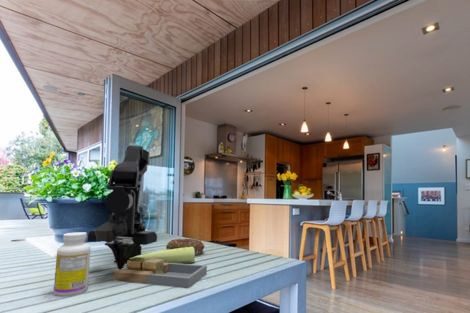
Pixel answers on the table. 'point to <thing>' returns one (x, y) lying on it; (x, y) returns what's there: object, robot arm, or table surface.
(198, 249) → the donut
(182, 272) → the tray
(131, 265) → the brass block
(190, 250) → the tube
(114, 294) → the table surface
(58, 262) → the supplement bottle
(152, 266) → the brass block
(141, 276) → the slot board
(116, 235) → the robot arm
